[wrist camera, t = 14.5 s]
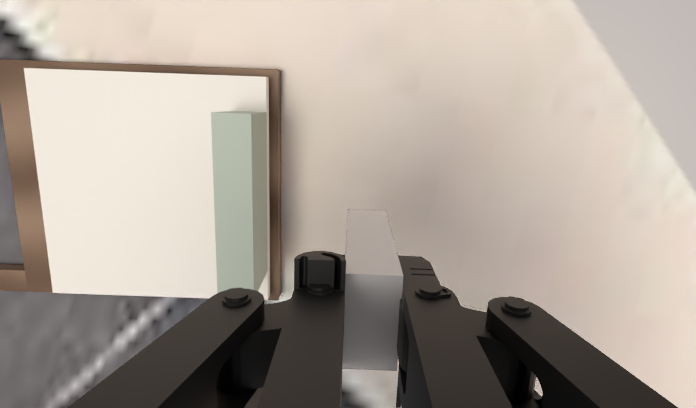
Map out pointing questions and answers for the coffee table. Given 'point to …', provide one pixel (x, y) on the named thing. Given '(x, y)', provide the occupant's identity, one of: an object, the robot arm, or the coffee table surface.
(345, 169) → the coffee table surface
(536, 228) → the coffee table surface
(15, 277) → the puzzle board
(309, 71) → the coffee table surface
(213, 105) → the sliding cover
